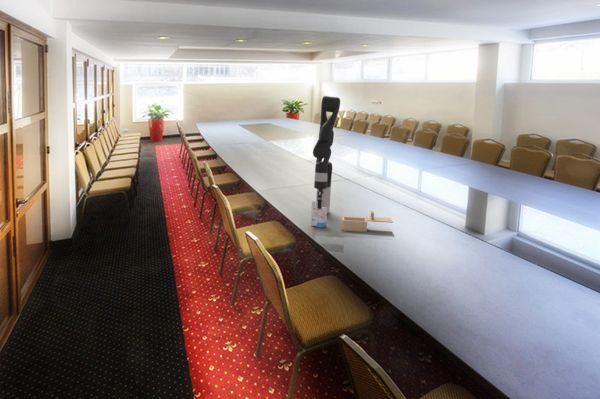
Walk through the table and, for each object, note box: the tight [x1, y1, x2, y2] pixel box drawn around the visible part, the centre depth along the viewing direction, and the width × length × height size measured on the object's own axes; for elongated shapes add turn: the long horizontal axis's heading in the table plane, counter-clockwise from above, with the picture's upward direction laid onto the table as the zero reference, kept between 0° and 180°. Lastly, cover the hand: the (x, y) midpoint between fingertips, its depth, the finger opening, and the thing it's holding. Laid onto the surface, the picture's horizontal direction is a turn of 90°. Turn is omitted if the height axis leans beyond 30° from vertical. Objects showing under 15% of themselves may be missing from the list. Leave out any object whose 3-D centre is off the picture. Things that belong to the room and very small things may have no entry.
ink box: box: [310, 200, 328, 229], centre depth 240 cm, size 8×5×15 cm, turn 47°
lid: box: [365, 210, 394, 224], centre depth 234 cm, size 11×14×4 cm
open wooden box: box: [341, 216, 368, 233], centre depth 236 cm, size 11×14×6 cm
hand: (319, 207), depth 239 cm, fingers open, 8 cm apart
